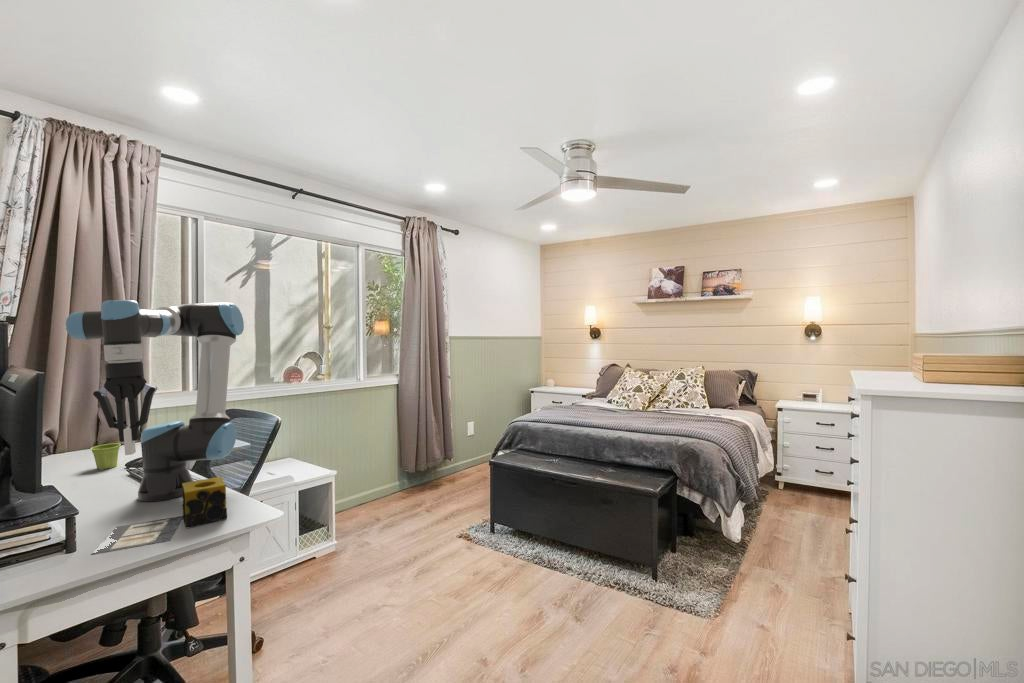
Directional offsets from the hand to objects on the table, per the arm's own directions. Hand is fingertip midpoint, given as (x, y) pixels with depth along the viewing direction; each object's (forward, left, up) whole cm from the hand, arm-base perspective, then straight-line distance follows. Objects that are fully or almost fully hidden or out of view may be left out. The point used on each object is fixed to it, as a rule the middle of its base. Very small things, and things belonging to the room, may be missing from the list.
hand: (130, 453), depth 124 cm
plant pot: (-90, -33, -23) cm, 99 cm away
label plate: (-4, 0, -23) cm, 23 cm away
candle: (-8, +14, -23) cm, 28 cm away
